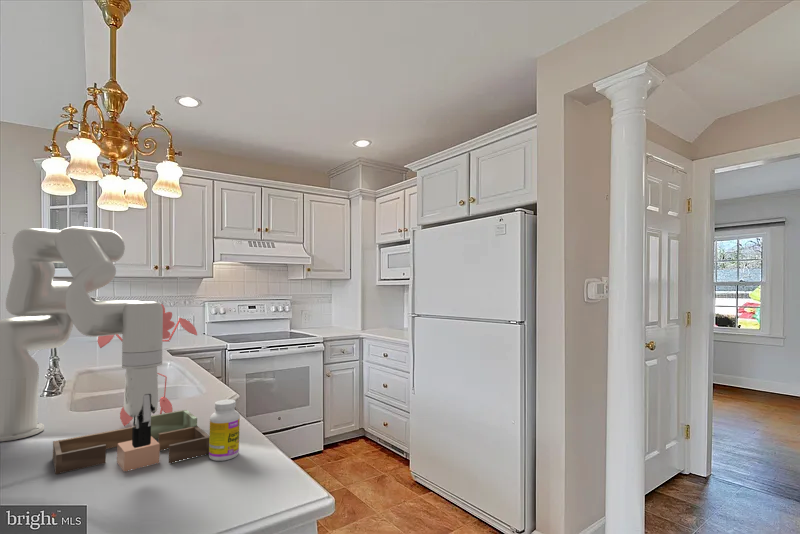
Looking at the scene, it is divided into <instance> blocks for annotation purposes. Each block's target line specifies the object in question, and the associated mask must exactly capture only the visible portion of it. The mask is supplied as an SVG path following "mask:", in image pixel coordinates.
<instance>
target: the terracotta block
mask: <svg viewBox="0 0 800 534" xmlns="http://www.w3.org/2000/svg"><path fill="white" fill-rule="evenodd" d="M116 449H117V450H116V452H117V453H116V463H117V464H118V466H119V467H120V468H121V470H122V471H123V472H124V471H126V472H129V471H132V470H131V469H133V470H136V468H137V469H141V468H144V467H143V466H145V467H148V466H147V465H149V466H153V465H156V464H155V463H157V464H159V463H160V456H161V454H160V452H161V451H160V444H159V443H158V441H157V440H156V439H154V438H153V437H152V436H151V444H150V445H147V446H142V447H138V448H134V447H133V445H132V440H131V441H126V442H122V443H117V447H116ZM152 464H153V465H152ZM140 467H141V468H140ZM128 470H129V471H128Z"/></svg>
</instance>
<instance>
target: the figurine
mask: <svg viewBox="0 0 800 534" xmlns="http://www.w3.org/2000/svg"><path fill="white" fill-rule="evenodd" d="M160 304H161V305H162V307H163V338H162V343H163V342H170V341H171V340H172V338H173V335H174V334H175V332H176V330H177V329H178V326H179V324H180V326H181V327H182V328H183V329H184V330H185V331H186V332H188V333H189V334H192V335H195V336H198V331H197V328H196V327H195V325H194V324H193V323H192V322H190V321H189V320H188V319H186V318H182V317H178V321H177V322H176V323H175V322H174V321H173V320H171V319H173V312H172V311H168V312H166V308H165V306H164V304H163V303H160ZM172 329H173V330H172ZM169 330H172V332H170V331H169ZM115 336H116V337H117V338H118V339H119V340H120V341H121V342H122V337H121V335H120V334H117V335H108V336H98V337H97V341H96V342H97V345H98V347H99V348H100V349H102V348H104V347H105V346H106V345H108V344H109V343H110V342H111V341H112V340H113V339H114V337H115ZM157 375H158V376H162V377H165V379H164V380H165V381H164V390H163V391H164V392H163V393H164V394H163V396H162V397H160V398H159V407H160V410H159V414H163V413H170V412H173V404H172V403H171V401H170V400H169V399H168V398H167V397H166V390H167V379H168V377H167V375H164V374H162V373H160V372H157ZM119 417H120V418H119V419H120V421H121V423H122V425H123V426H124V427H126V426H127V425H128V424H129V423H131V421H133V417H131V416H129V415H128V414H127V412H126V411H125V410H124V405H123V406H122V408H121V409H120V413H119Z"/></svg>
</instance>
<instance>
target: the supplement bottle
mask: <svg viewBox="0 0 800 534" xmlns="http://www.w3.org/2000/svg"><path fill="white" fill-rule="evenodd" d="M236 404H237V403H236V400H235V399H230V398H229V399H228V398H227V399H221V400H220V399H219V400H217V401H215V402H214V412H213V413H212V414H211V415H210V417H209V454H208V457H209V459H210V460H212V461H216V462H221V461H224V462H225V461H228V460H232V459H235V458H236V457H238V454H239V453H240V451H239V450H240V422H241V421H240V420H241V415H240V413H239V411H237V410H235V408H236V406H237V405H236Z"/></svg>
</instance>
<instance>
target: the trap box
mask: <svg viewBox="0 0 800 534" xmlns="http://www.w3.org/2000/svg"><path fill="white" fill-rule="evenodd" d="M132 427H133V426H129V427H125V428H119V429H114V430H107V431H101V432H97V433H91V434H85V435H79V436H75V437H69V438H65V439H59V440H54V441H52V445H53V446H52V461H53V467H54V472H55V473H54V474H55V475H58V474H63V473H67V472H71V471H76V470H77V471H78V470H81V469H86V468H90V467H95V466H98V465H105V464H106V457H107V449H112V448H117V443H122V442H126V441H131V440H132ZM134 427H135V426H134ZM151 436H152V437H153V438H154V439H155V440H156V439H158V441H157V442H158V443H159V444H160V452H161V450H162V451H165V450H164V449H166V450H168V464H169V463H171V464H173V463H172V462H175V461H179V460H183V459H187V458H192V457H196V456H200V457H202V456H201V455H204V456H206V455H205V454H208V455H209V436H210V434H208V433H206V432H205V431H204V429H202V428H200V426H198V417H196V416H195V415H194V414H193V413H191V412H190V411H189V410H188V409H181V410H177V411H172V412H170V413H165V412H163V413H162V414H160V413H158V414H154V415H152V414H151ZM167 448H169V449H167ZM196 458H197V457H196ZM192 459H193V458H192Z"/></svg>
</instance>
